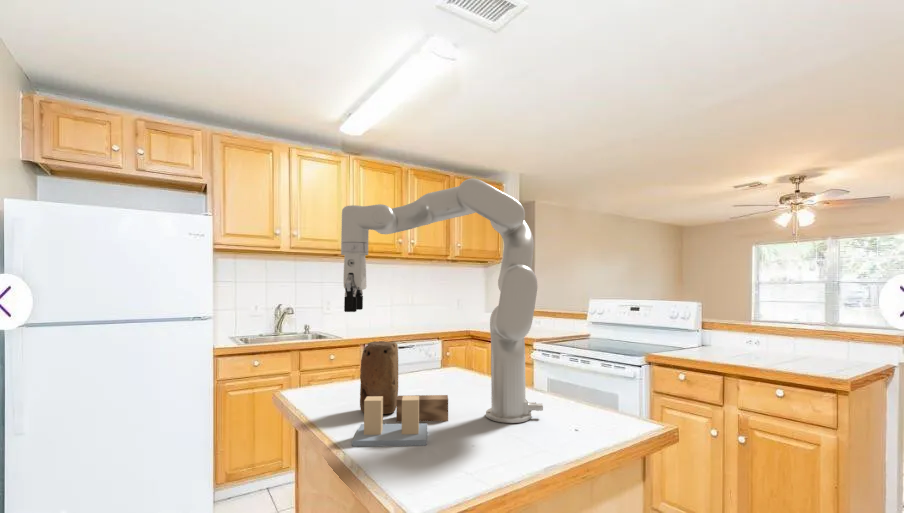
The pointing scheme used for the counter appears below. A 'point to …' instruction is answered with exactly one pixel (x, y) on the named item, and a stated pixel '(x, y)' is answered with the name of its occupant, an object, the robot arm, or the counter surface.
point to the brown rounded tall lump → (380, 374)
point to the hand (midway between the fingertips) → (353, 310)
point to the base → (391, 425)
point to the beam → (428, 408)
